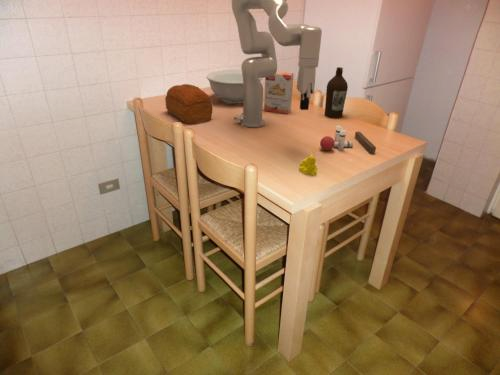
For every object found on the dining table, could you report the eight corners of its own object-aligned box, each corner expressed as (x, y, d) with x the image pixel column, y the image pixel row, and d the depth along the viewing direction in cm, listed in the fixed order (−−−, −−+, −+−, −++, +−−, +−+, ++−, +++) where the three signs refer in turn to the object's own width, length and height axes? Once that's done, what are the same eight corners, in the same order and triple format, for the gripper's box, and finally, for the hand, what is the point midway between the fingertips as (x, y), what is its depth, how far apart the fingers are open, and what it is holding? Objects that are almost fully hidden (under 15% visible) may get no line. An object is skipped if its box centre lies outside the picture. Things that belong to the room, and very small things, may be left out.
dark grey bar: (370, 153, 149) (371, 147, 148) (354, 137, 165) (355, 131, 163) (374, 153, 149) (376, 147, 148) (358, 137, 165) (359, 131, 164)
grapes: (307, 165, 139) (309, 147, 135) (320, 173, 133) (323, 154, 129) (295, 168, 136) (296, 150, 132) (308, 177, 130) (310, 158, 126)
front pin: (334, 143, 152) (353, 142, 153) (332, 140, 154) (351, 140, 155) (333, 148, 154) (352, 148, 155) (331, 145, 156) (350, 145, 157)
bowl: (227, 111, 195) (226, 84, 188) (197, 97, 218) (196, 73, 210) (272, 102, 212) (273, 77, 205) (240, 90, 234) (241, 67, 227)
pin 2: (338, 150, 152) (341, 131, 147) (336, 148, 154) (339, 129, 150) (344, 150, 152) (347, 131, 148) (342, 148, 154) (345, 129, 150)
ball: (336, 152, 150) (321, 154, 152) (335, 142, 154) (321, 144, 156) (333, 142, 146) (318, 144, 148) (333, 132, 149) (318, 134, 151)
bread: (187, 126, 174) (185, 94, 167) (164, 112, 193) (160, 82, 185) (215, 120, 183) (214, 89, 175) (190, 107, 201) (188, 78, 194)
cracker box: (263, 111, 197) (265, 72, 187) (267, 108, 202) (268, 70, 192) (287, 114, 193) (290, 75, 182) (291, 111, 197) (294, 72, 187)
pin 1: (334, 146, 156) (337, 127, 152) (333, 143, 158) (335, 125, 154) (340, 145, 156) (343, 127, 152) (338, 143, 158) (341, 125, 154)
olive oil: (320, 113, 196) (325, 66, 184) (338, 112, 198) (344, 65, 186) (328, 119, 187) (334, 70, 175) (346, 118, 189) (354, 69, 177)
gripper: (294, 58, 142) (291, 104, 151) (303, 66, 129) (299, 115, 138) (312, 58, 143) (308, 103, 152) (323, 66, 130) (317, 115, 139)
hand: (303, 109), depth 145 cm, fingers closed
